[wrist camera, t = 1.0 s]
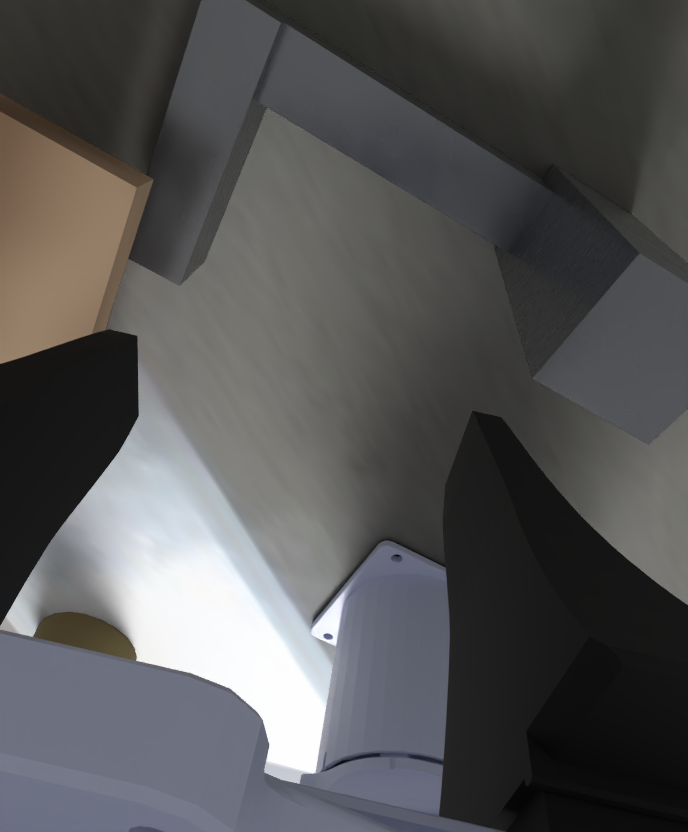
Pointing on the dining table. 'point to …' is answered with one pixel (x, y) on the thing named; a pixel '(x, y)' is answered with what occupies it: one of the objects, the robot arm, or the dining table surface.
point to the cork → (85, 634)
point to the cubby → (60, 232)
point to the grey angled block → (438, 187)
